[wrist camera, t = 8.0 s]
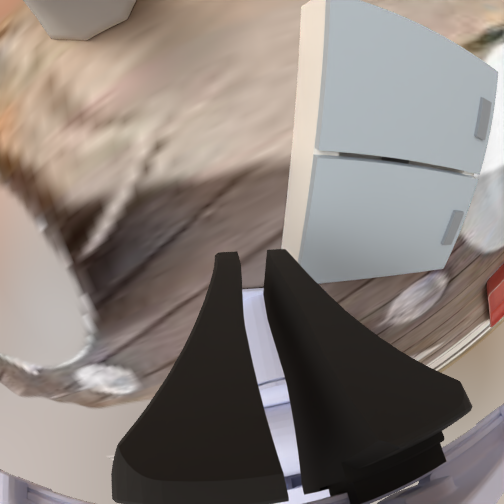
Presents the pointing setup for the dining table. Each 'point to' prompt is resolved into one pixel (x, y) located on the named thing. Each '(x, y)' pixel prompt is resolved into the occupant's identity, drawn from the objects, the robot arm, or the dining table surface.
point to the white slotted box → (312, 126)
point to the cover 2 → (380, 218)
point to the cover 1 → (401, 90)
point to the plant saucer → (496, 296)
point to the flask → (79, 16)
